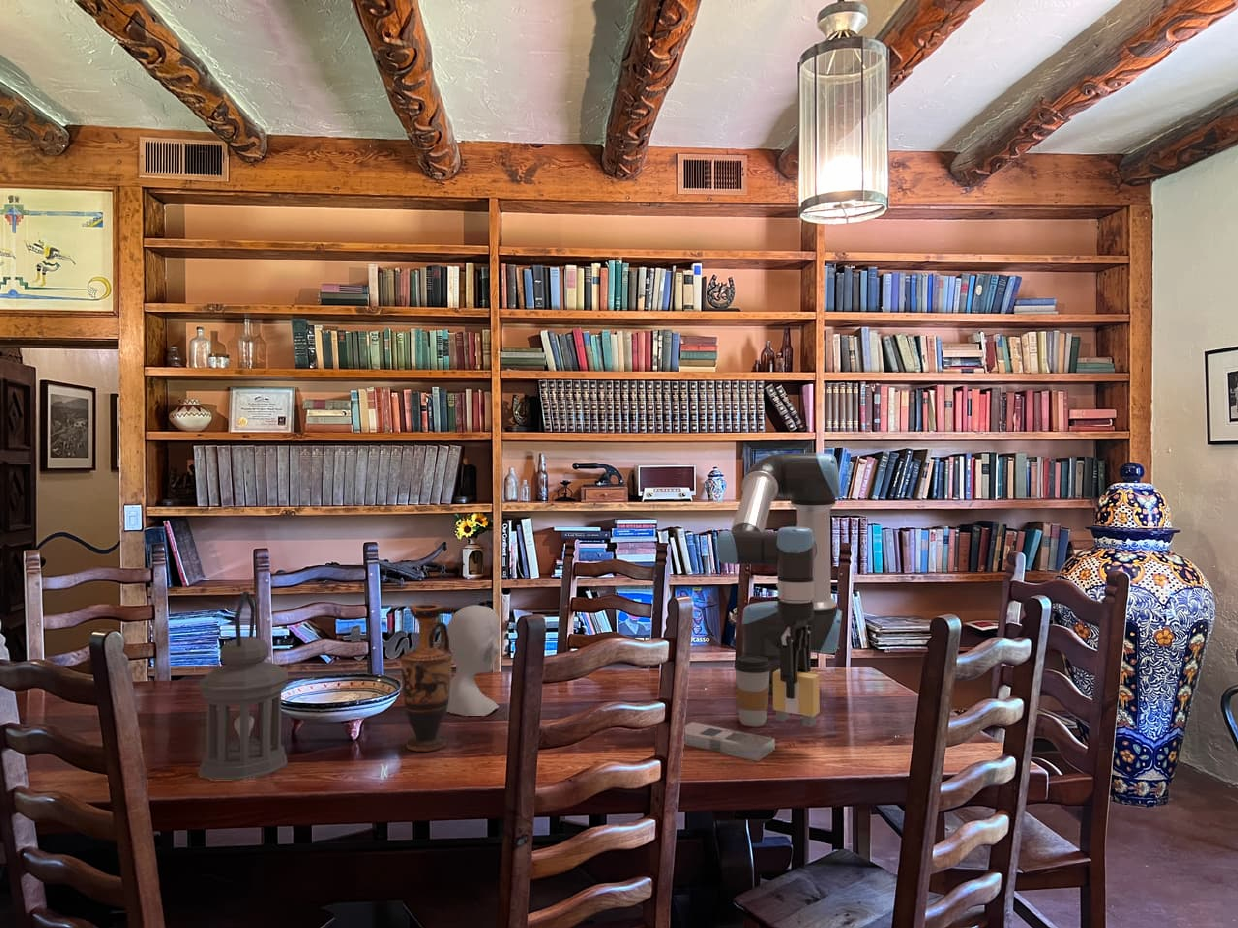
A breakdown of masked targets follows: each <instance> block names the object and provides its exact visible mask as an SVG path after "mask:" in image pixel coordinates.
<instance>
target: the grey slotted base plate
mask: <svg viewBox="0 0 1238 928" xmlns="http://www.w3.org/2000/svg"><path fill="white" fill-rule="evenodd" d="M684 726H685V745H684V746H688V747H692V748H696V749H701V750H706V751H711V752H714V753H719V754H725V755H728V756H734V757H737V758H742V759H747V760H753V761H756V762H760V761H761V760H762V759H764V758H765V757H767V756H768V755H770V754H771V753H772V752H774V751H775V737H770V736H764V735H759V734H755V733H749V732H746V731H745V732H744V731H740V730H734V729H730V728H725V727H720V726H719V727H718V726H714V725H709V724H704V723H697V722H693V721H692V722H689V723H687V724H685V725H684Z"/></svg>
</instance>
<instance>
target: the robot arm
mask: <svg viewBox="0 0 1238 928" xmlns="http://www.w3.org/2000/svg"><path fill="white" fill-rule="evenodd" d="M741 492H742V495H741V498H740V500H739V501H740V502H739V504H738V507H737V511H736V513H735V516H734V520H733V523H732V526H731V530H724V531H723V530H722V531H720V532H719V533H718V535H717V540H716V555H717V558H718V561H719V562H720V563H722V564H731V565H733V566H735V565H736V566H737V565H747V566H748V565H749V566H750V565H751V566H752V565H753V566H754V565H756V566H757V565H759V566H777V582H776V583H775V586H776V588H777V598H778V599H779V600H778V601H777V600H776V601H774V600H773V601H762V602H761V601H760V602H755V603H751V604H748V605H746V606H744V608H743V609H742V620H741V625H742V627H741V628H742V629H741V630H742V632H741V633H742V634H741V636H742V639H741V641H742V648H741V649H742V655H741V656H761V657H765V658H767V659H768V663H769V664H770V671H769V692H768V695H773V672H774V671H776V670H778V669H780V680H781V681H783V682H785V712H787V713H790V714H794V715H799V682H797V671H798V672H805V673H811V669H812V668H811V664H812V659H811V658H812V654H815V653H816V654H820V655H821V654H833V653H835V652H836V651H837V650H838V646H839V639H840V633H841V624H842V616H843V611H842V610H840V609H837V602H836V601H835V600H834V599H833V598H832V597H831V586H832V584H831V523H830V521H831V519H830V518H831V517H830V516H831V514H830V512H831V509H832V508H833V507H834V506H835V505H836V503H837V501H836V500H837V499H836V498H840V497H841V495H842V490H841V478H840V473H839V467H838V462H837V458H836V457H835V456H834V454H832V453H826V452H825V453H823V452H807V453H806V452H805V453H804V452H801V453H799V452H798V453H796V452H795V453H775V454H770V455H767V456H765V457H764V458H761V459H759V460H758V461H757V462H756V463H754V464H753V465H752V466H751V467H750V468H749V469H748V470H747V471H746V473H745V474H744V476H743V478H742V481H741ZM776 497H786V498H789V497H790V504H791V506H793V507H794V508H795V510H796V526H785V527H783V526H782V527H780V528H779V529H778V530H777V531H765V529H766V525H767V522H768V521H767V520H768V517H769V512H770V509H771V506H772V505H771V504H772V501H773V500H775V498H776Z"/></svg>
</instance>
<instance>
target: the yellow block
mask: <svg viewBox="0 0 1238 928" xmlns="http://www.w3.org/2000/svg"><path fill="white" fill-rule="evenodd" d="M797 682H799V714H798V715H800V716H802V717H801V718H802V719H801V721H802V725H801V726H802V727H808V728H812V727H813V726H814V725H816V724H817V723H818V714H819V713H820V710H821V709H820V707H821V706H820V701H821V700H820V697H821V696H820V674H817V673H811V672H808V673H805V672H798V671H797ZM772 710H773V711H775V721H777V722H781V723H782V722H783V723H784V722H786V721H787V720H789V719H790V718H791V713H787V712H785V682H783V681H781V680H780V669H778V670H776V671H774V672H773V694H772Z"/></svg>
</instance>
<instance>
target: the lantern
mask: <svg viewBox="0 0 1238 928" xmlns="http://www.w3.org/2000/svg"><path fill="white" fill-rule="evenodd" d="M245 600H247V603H248V605H249V608H250V618H249V619H250V620H249V621H250V622H249V631H248V634H249V635H248V637H241V622H240V619H241V618H240V617H241V613H242V610H243V606H244V603H245ZM255 615H256V606H255V603H254V602H253V600H252V596H251V595H250V593H249V591H248V590H246V591H245V590H244V591H243V592H242V593H241V596H240V599H239V602H238V606H237V608H236V611H235V616H234V623H235V624H234V625H235V639H232V640H229V641H226V642H225V643H224V644H223V645H222V647H221V648H220V660H221V661H222V663H223V664H225V665H222V666H220V667H216V668H214V669H212V670H210V671H209V672H208V673H206V675H205V677H204V678H201V679H199V684H198V688H199V689H201V698H203V699H206V715H205V716H206V717H205V718H206V721H205V722H206V724H205V725H206V729H205V730H206V731H205V732H206V734H205V736H206V738H205V739H206V740H205V744H206V745H205V749H206V750H205V755H203V756H202V760H201V765H200V766H199V769H198V776H202V777H205V778H209V779H212V780H244V779H249V778H253V777H257V776H261V775H265V774H269V773H272V772H274V771H276V770H278V769H279V770H281V769H282V768H281V767H283V768H284V767H286V766H287V765H289V764H288V758H287V757H288V755H287V754H286V752H285V746H284V745H283V744H282V691H283V690H285V689H287V681H288V680H289V679H290V677H289V673H288V671H287V670H284V669H283V668H282V667H281V666H280V665H278V664H276V663H272V662H266V661H265V660H266V659H267V658H268V656H269V653H270V647H269V646H270V645H269V643H268V642H266V640H265V639H263V638H258V637H254V630H255V617H256V616H255ZM253 704H258V738H253V739H250V734H251V731H252V730H253V727H254V725H255V719H254V717H253V716H252V715H251V714H250V705H253ZM231 706H239V709H240V710H239V716H238V717H237V718H236V719H235V721H234V728H235V731H236V732H237V734H238V738H239V740H236V741H230V709H231V708H230V707H231ZM280 768H281V769H280ZM279 770H278V771H279ZM276 772H277V771H276ZM274 773H275V772H274ZM269 775H270V774H269ZM198 776H197V777H198ZM265 776H266V775H265ZM261 777H262V776H261ZM257 778H258V777H257ZM253 779H254V778H253ZM249 780H250V779H249Z"/></svg>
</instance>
